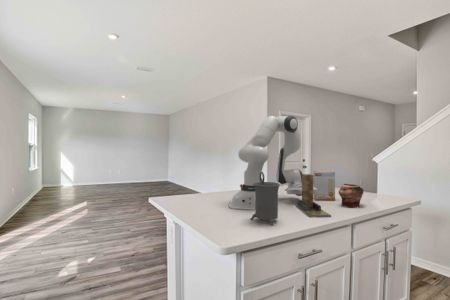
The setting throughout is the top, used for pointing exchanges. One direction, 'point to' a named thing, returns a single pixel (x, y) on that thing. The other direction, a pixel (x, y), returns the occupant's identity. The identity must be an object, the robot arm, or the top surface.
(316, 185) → the cracker box
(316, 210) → the steel chute
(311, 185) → the walnut block
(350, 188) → the decorative planter
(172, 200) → the top surface
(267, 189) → the footed curly-handled cup
